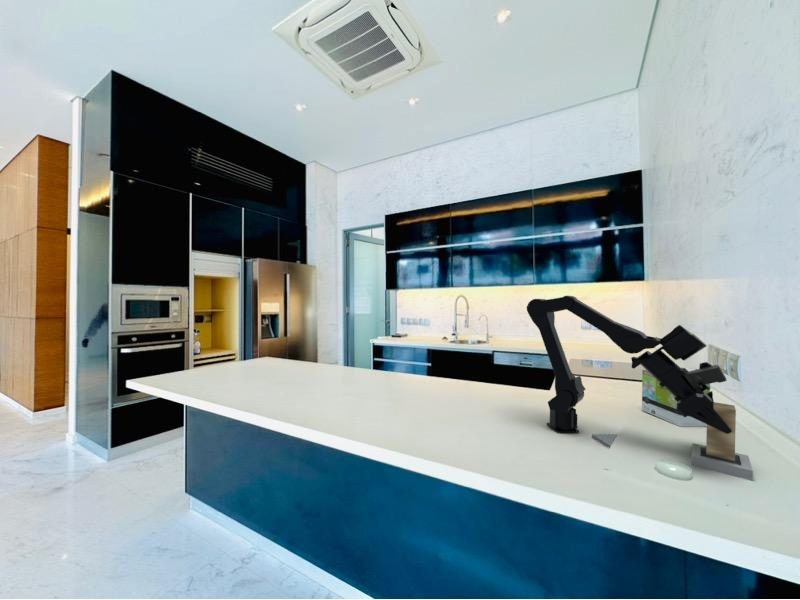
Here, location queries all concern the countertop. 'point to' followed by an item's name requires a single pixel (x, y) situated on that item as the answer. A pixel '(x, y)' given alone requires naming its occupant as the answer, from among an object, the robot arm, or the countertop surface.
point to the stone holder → (722, 463)
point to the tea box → (664, 403)
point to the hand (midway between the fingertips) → (729, 429)
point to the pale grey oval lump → (673, 469)
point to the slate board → (605, 438)
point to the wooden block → (722, 434)
